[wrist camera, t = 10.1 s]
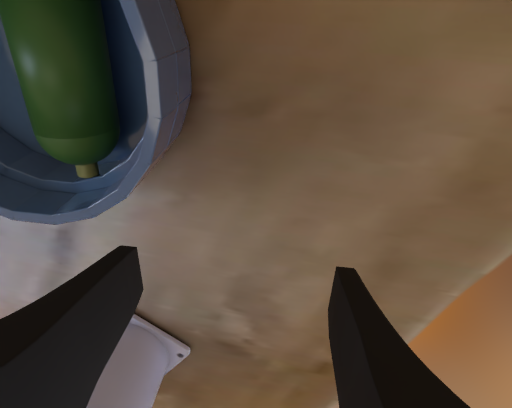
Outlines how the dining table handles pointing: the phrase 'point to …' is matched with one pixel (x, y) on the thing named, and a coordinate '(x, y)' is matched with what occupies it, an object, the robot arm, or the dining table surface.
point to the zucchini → (65, 77)
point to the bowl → (129, 110)
